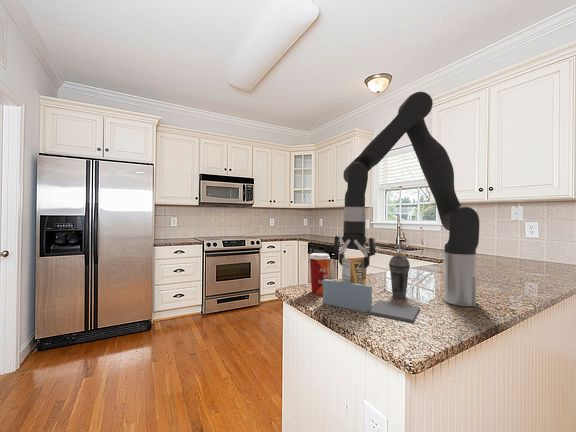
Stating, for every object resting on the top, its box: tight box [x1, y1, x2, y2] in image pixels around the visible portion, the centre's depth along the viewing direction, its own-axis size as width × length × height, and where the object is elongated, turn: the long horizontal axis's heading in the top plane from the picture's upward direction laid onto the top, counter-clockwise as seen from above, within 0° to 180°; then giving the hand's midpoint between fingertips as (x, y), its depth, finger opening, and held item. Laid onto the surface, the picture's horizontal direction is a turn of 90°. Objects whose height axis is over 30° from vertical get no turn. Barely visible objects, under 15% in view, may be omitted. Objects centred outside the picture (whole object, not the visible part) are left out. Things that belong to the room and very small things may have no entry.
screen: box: [322, 278, 373, 313], centre depth 89 cm, size 16×2×8 cm, turn 57°
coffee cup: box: [308, 252, 331, 296], centre depth 106 cm, size 8×8×15 cm
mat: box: [366, 299, 421, 323], centre depth 85 cm, size 13×13×1 cm
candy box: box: [341, 255, 367, 285], centre depth 96 cm, size 9×4×15 cm, turn 129°
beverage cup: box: [388, 242, 411, 299], centre depth 102 cm, size 7×7×20 cm
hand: (353, 266), depth 96 cm, fingers open, 8 cm apart
